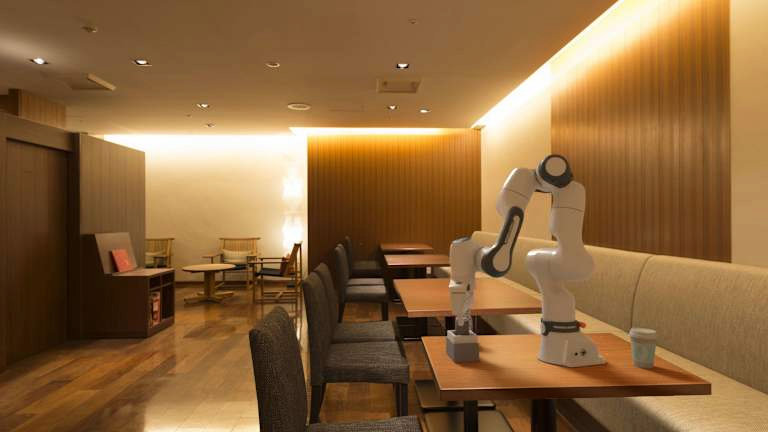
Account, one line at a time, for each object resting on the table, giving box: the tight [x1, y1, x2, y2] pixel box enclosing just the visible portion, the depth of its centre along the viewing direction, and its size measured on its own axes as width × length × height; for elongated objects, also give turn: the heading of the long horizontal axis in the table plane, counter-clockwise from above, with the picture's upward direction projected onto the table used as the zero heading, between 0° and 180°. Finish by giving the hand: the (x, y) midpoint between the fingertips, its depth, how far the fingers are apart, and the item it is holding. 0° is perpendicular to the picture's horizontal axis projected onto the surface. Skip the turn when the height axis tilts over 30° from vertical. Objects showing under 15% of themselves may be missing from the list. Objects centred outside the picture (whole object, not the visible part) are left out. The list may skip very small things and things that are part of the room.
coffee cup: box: [628, 327, 659, 369], centre depth 158 cm, size 9×8×12 cm
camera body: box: [445, 329, 480, 363], centre depth 168 cm, size 9×11×8 cm
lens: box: [454, 317, 469, 336], centre depth 168 cm, size 5×5×8 cm
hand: (464, 322), depth 168 cm, fingers open, 8 cm apart
